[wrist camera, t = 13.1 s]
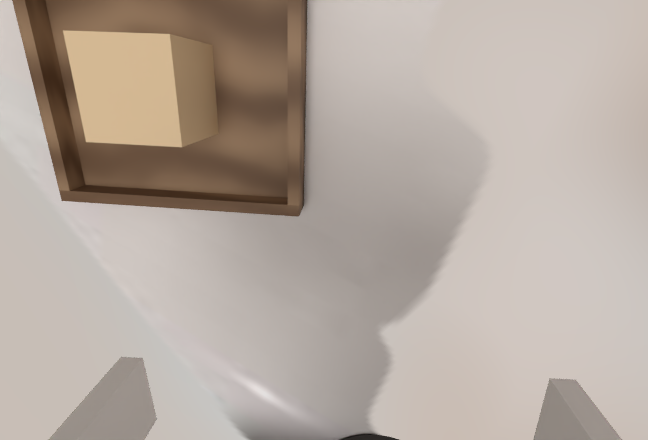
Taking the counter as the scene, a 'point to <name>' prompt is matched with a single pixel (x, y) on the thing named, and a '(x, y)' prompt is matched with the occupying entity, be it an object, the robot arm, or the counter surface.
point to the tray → (231, 97)
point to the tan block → (143, 87)
